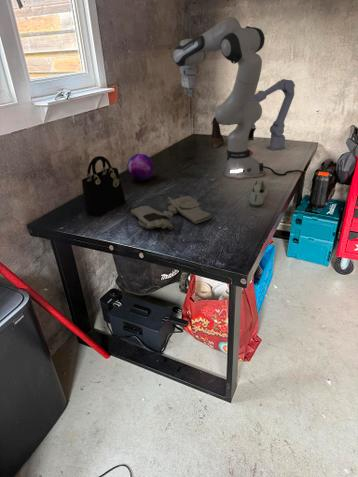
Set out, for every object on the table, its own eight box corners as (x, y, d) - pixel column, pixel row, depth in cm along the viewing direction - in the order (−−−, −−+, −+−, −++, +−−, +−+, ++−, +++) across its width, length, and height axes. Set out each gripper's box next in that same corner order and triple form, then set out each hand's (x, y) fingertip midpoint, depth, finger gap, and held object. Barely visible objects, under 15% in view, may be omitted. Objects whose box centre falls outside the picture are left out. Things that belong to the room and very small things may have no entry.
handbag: (98, 217, 149) (87, 164, 137) (84, 214, 154) (72, 161, 141) (127, 201, 164) (120, 151, 152) (113, 198, 169) (105, 149, 156)
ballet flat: (269, 188, 169) (270, 173, 165) (265, 208, 149) (266, 191, 145) (252, 187, 171) (253, 172, 167) (246, 206, 151) (247, 190, 147)
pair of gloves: (147, 237, 131) (146, 225, 129) (129, 213, 152) (128, 202, 149) (214, 220, 141) (214, 209, 138) (188, 199, 162) (188, 189, 159)
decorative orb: (160, 177, 192) (157, 152, 184) (144, 186, 181) (141, 159, 174) (139, 174, 199) (137, 149, 192) (123, 182, 189) (119, 156, 181)
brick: (251, 138, 229) (251, 132, 226) (253, 140, 225) (253, 133, 223) (244, 139, 228) (244, 133, 226) (246, 140, 224) (246, 134, 222)
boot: (224, 140, 260) (225, 113, 250) (221, 148, 240) (222, 119, 230) (213, 140, 262) (213, 113, 252) (210, 148, 242) (209, 119, 232)
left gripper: (178, 70, 202) (179, 94, 209) (186, 72, 185) (187, 98, 192) (188, 69, 203) (189, 93, 210) (197, 71, 186) (197, 97, 193)
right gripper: (240, 115, 224) (239, 135, 231) (248, 119, 212) (247, 140, 219) (250, 114, 226) (249, 134, 232) (259, 118, 213) (257, 139, 220)
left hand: (188, 96), depth 201 cm, fingers open, 8 cm apart
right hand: (249, 137), depth 226 cm, fingers closed on brick, 4 cm apart
